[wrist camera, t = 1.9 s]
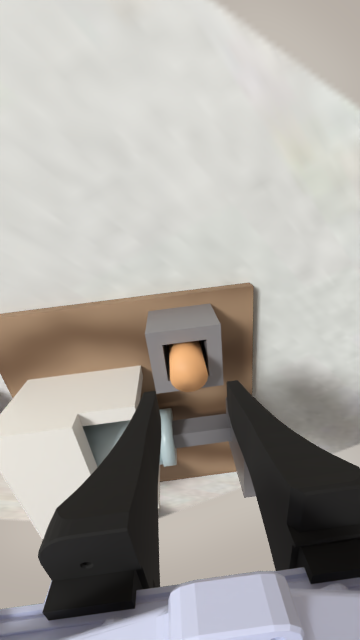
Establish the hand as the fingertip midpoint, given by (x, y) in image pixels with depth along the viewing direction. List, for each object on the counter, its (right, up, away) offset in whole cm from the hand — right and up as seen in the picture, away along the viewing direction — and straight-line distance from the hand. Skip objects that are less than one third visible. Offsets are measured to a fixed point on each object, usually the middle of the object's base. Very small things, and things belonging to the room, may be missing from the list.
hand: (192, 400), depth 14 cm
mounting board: (-5, -4, +11) cm, 13 cm away
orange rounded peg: (0, +2, +6) cm, 6 cm away
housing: (-5, -3, +10) cm, 11 cm away
